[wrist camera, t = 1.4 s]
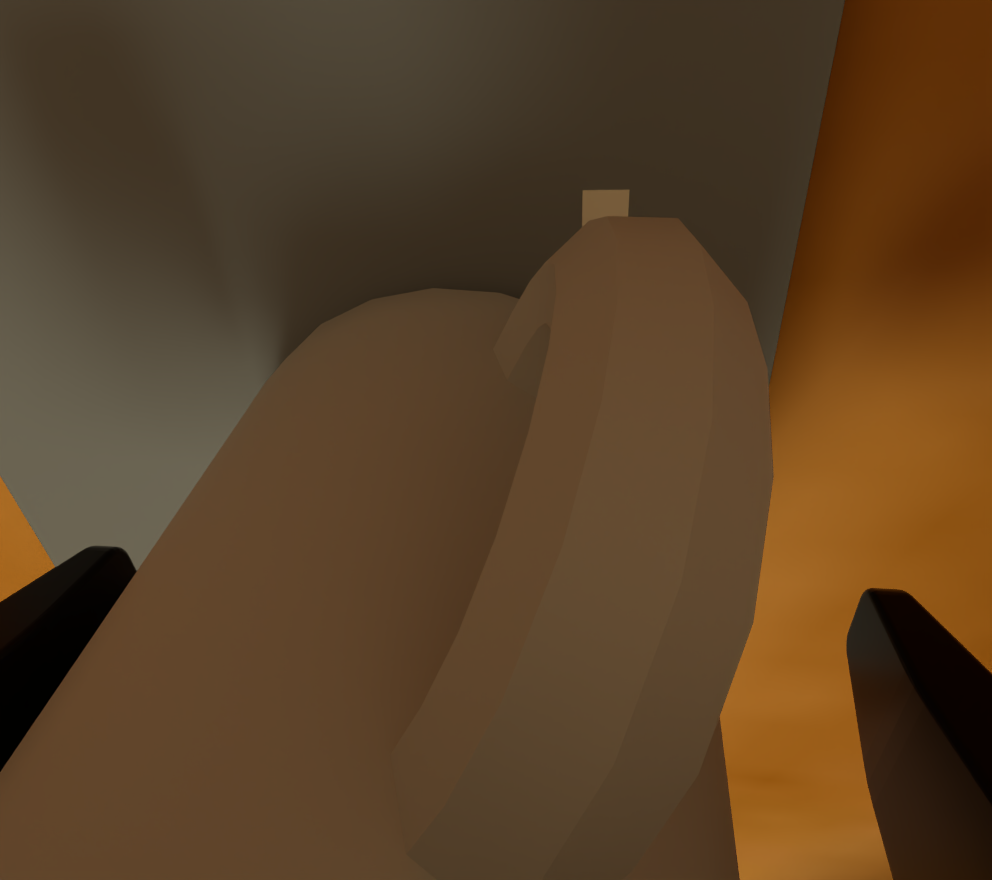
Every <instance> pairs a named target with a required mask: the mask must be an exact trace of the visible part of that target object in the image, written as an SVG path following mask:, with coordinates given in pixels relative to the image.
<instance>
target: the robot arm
mask: <svg viewBox="0 0 992 880" xmlns="http://www.w3.org/2000/svg"><path fill="white" fill-rule="evenodd" d="M136 572H137V570H136V568H135V566H134V564H133V562H132V560H131V558H130V556H129V555H128V553H127V552H126V551H125V550H124V549H122V548H120V547H114V546H90V547H87V548H85V549H83V550H82V551H80V552H79V553H77V554H75V555H74V556H72V557H71V558H69V559H68V560H66V561H64V562H63V563H61V564H60V565H58V566H57V567H55V568H53V569H52V570H50V571H49V572H47V573H45V574H44V575H42V576H41V577H39V578H38V579H36V580H34V581H33V582H31V583H30V584H28V585H27V586H25V587H23V588H22V589H20V590H19V591H17V592H16V593H14V594H12V595H11V596H9V597H8V598H6V599H4V600H3V601H1V602H0V772H1V770H2V769H3V767H4V766H5V765H6V763H7V762H8V760H9V759H10V757H11V756H12V754H13V753H14V751H15V750H16V748H17V747H18V745H19V744H20V742H21V741H22V740H23V738H24V737H25V735H26V734H27V732H28V731H29V729H30V728H31V726H32V725H33V723H34V722H35V720H36V719H37V717H38V716H39V715H40V713H41V712H42V710H43V709H44V707H45V706H46V704H47V703H48V701H49V700H50V698H51V697H52V695H53V694H54V692H55V691H56V690H57V688H58V687H59V685H60V684H61V682H62V681H63V679H64V678H65V676H66V675H67V673H68V672H69V670H70V669H71V667H72V666H73V665H74V663H75V662H76V660H77V659H78V657H79V656H80V654H81V653H82V651H83V650H84V648H85V647H86V645H87V644H88V642H89V641H90V640H91V638H92V637H93V635H94V634H95V632H96V631H97V629H98V628H99V626H100V625H101V623H102V622H103V620H104V619H105V618H106V616H107V615H108V613H109V612H110V610H111V609H112V607H113V606H114V604H115V603H116V601H117V600H118V598H119V597H120V595H121V594H122V593H123V591H124V590H125V588H126V587H127V585H128V584H129V582H130V581H131V579H132V578H133V576H134V575H135V573H136ZM846 646H847V658H848V664H849V671H850V677H851V684H852V690H853V697H854V703H855V709H856V716H857V722H858V729H859V735H860V742H861V748H862V755H863V761H864V767H865V772H866V778H867V784H868V788H869V792H870V796H871V800H872V804H873V808H874V811H875V815H876V819H877V822H878V826H879V829H880V833H881V837H882V840H883V844H884V848H885V851H886V855H887V858H888V862H889V866H890V869H891V873H892V877H893V880H992V673H991V672H990V671H988V670H987V669H986V668H985V667H984V666H983V665H982V664H981V663H980V662H979V661H978V660H977V659H976V658H975V657H974V656H973V655H972V654H971V653H970V652H969V651H968V650H967V649H966V648H965V647H964V646H963V645H962V644H961V643H960V642H959V641H958V640H957V639H956V638H955V637H954V636H953V635H952V634H951V633H950V632H948V631H947V630H946V629H945V628H944V627H943V626H942V625H941V624H940V623H939V622H938V621H937V620H936V619H935V618H934V617H933V616H932V615H931V614H930V613H929V612H928V611H927V610H926V609H925V608H924V607H923V606H922V605H921V604H920V603H919V602H918V601H917V600H916V599H915V598H914V597H913V596H911V595H910V594H909V593H907V592H905V591H903V590H897V589H879V588H870V589H867V590H866V591H865V592H864V593H863V594H862V596H861V598H860V601H859V604H858V607H857V609H856V612H855V615H854V618H853V620H852V623H851V626H850V629H849V632H848V635H847V645H846Z"/></svg>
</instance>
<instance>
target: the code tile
mask: <svg viewBox="0 0 992 880" xmlns="http://www.w3.org/2000/svg"><path fill="white" fill-rule="evenodd" d="M844 3H845V0H0V476H1V478H2V479H3V481H4V483H5V484H6V486H7V488H8V489H9V491H10V493H11V494H12V496H13V498H14V499H15V501H16V502H17V504H18V506H19V507H20V509H21V511H22V512H23V514H24V516H25V517H26V519H27V521H28V522H29V524H30V526H31V527H32V529H33V531H34V532H35V534H36V536H37V537H38V539H39V541H40V542H41V544H42V545H43V547H44V549H45V550H46V552H47V554H48V555H49V557H50V559H51V560H52V562H53V564H54V565H55V567H57V566H58V565H60V564H61V563H63V562H64V561H66V560H68V559H69V558H71V557H72V556H74V555H75V554H77V553H79V552H80V551H82V550H83V549H85V548H87V547H90V546H114V547H120V548H122V549H124V550H125V551H126V552H127V553H128V555H129V556H130V558H131V560H132V562H133V564H134V566H135V568H136V570H138V569H139V568H140V566H141V565H142V563H143V562H144V560H145V559H146V557H147V556H148V554H149V553H150V551H151V550H152V548H153V547H154V545H155V544H156V543H157V541H158V540H159V538H160V537H161V535H162V534H163V532H164V531H165V529H166V528H167V526H168V525H169V523H170V522H171V520H172V519H173V518H174V516H175V515H176V513H177V512H178V510H179V509H180V507H181V506H182V504H183V503H184V501H185V500H186V498H187V497H188V495H189V494H190V493H191V491H192V490H193V488H194V487H195V485H196V484H197V482H198V481H199V479H200V478H201V476H202V475H203V473H204V472H205V470H206V469H207V468H208V466H209V465H210V463H211V462H212V460H213V459H214V457H215V456H216V454H217V453H218V451H219V450H220V448H221V447H222V445H223V444H224V443H225V441H226V440H227V438H228V437H229V435H230V434H231V432H232V431H233V429H234V428H235V426H236V425H237V423H238V422H239V420H240V419H241V418H242V416H243V415H244V413H245V412H246V410H247V409H248V407H249V406H250V404H251V403H252V401H253V400H254V398H255V397H256V395H257V394H258V393H259V391H260V390H261V388H262V387H263V385H264V384H265V382H266V381H267V380H268V379H269V378H270V377H271V375H272V374H273V373H274V372H275V371H276V369H277V368H278V367H279V366H280V365H281V364H282V362H283V361H284V360H285V359H286V358H287V357H288V356H289V355H290V354H291V353H292V352H293V351H294V350H295V349H296V348H297V347H298V346H299V345H300V344H301V343H302V342H303V341H304V340H305V339H306V338H307V337H308V336H309V335H310V334H311V333H312V332H313V331H314V330H315V329H317V328H318V327H319V326H320V325H321V324H322V323H324V322H326V321H329V320H331V319H333V318H335V317H337V316H339V315H341V314H343V313H345V312H347V311H349V310H351V309H353V308H355V307H357V306H359V305H361V304H363V303H365V302H367V301H369V300H371V299H377V298H382V297H387V296H393V295H398V294H404V293H409V292H414V291H420V290H425V289H430V288H439V289H453V290H468V291H482V292H496V293H502V294H505V295H508V296H511V297H514V298H518V299H520V297H521V296H522V294H523V292H524V291H525V289H526V287H527V285H528V284H529V282H530V280H531V279H532V278H533V277H534V275H535V274H536V273H537V272H538V271H539V269H540V268H541V267H542V266H543V264H544V263H545V262H546V261H547V260H548V259H549V258H550V257H551V256H552V255H554V254H555V253H556V252H557V251H558V250H559V249H560V248H561V247H562V246H563V245H564V244H565V243H566V242H567V241H568V240H569V239H570V238H571V237H572V236H573V235H574V234H575V233H577V232H578V231H579V230H580V229H581V228H582V227H583V226H584V225H585V224H586V223H587V222H588V221H590V220H594V219H598V218H601V217H605V216H623V217H659V218H678V219H679V220H680V221H681V222H682V223H683V224H684V225H685V227H686V228H687V229H688V230H689V231H690V232H691V234H692V235H693V236H694V237H695V238H696V239H697V240H698V242H699V243H700V244H701V245H702V246H703V248H704V249H705V250H706V251H707V253H708V254H709V255H710V256H711V258H712V259H713V260H714V261H715V263H716V264H717V265H718V266H719V267H720V269H721V270H722V271H723V272H724V274H725V275H726V276H727V277H728V279H729V280H730V281H731V282H732V284H733V285H734V286H735V287H736V288H737V290H738V291H739V292H740V293H741V295H742V296H743V297H744V298H745V300H746V301H747V302H748V306H749V309H750V312H751V315H752V319H753V322H754V325H755V329H756V332H757V335H758V339H759V342H760V345H761V349H762V352H763V355H764V359H765V362H766V365H767V369H768V387H769V383H770V378H771V373H772V368H773V363H774V358H775V353H776V347H777V342H778V337H779V332H780V327H781V322H782V317H783V312H784V307H785V302H786V297H787V292H788V287H789V282H790V277H791V271H792V266H793V261H794V256H795V251H796V246H797V241H798V236H799V231H800V226H801V221H802V216H803V211H804V206H805V201H806V195H807V190H808V185H809V180H810V175H811V170H812V165H813V160H814V155H815V150H816V145H817V140H818V135H819V130H820V125H821V119H822V114H823V109H824V104H825V99H826V94H827V89H828V84H829V79H830V74H831V69H832V64H833V59H834V54H835V49H836V43H837V38H838V33H839V28H840V23H841V18H842V13H843V8H844Z"/></svg>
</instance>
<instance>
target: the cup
mask: <svg viewBox="0 0 992 880" xmlns="http://www.w3.org/2000/svg"><path fill="white" fill-rule="evenodd" d="M772 483H773V459H772V441H771V423H770V405H769V387H768V369H767V365H766V362H765V359H764V355H763V352H762V349H761V345H760V342H759V339H758V335H757V332H756V329H755V325H754V322H753V319H752V315H751V312H750V309H749V306H748V302H747V301H746V300H745V298H744V297H743V296H742V295H741V293H740V292H739V291H738V290H737V288H736V287H735V286H734V285H733V284H732V282H731V281H730V280H729V279H728V277H727V276H726V275H725V274H724V272H723V271H722V270H721V269H720V267H719V266H718V265H717V264H716V263H715V261H714V260H713V259H712V258H711V256H710V255H709V254H708V253H707V251H706V250H705V249H704V248H703V246H702V245H701V244H700V243H699V242H698V240H697V239H696V238H695V237H694V236H693V235H692V234H691V232H690V231H689V230H688V229H687V228H686V227H685V225H684V224H683V223H682V222H681V221H680V220H679V219H678V218H659V217H623V216H605V217H601V218H598V219H594V220H590V221H588V222H587V223H586V224H585V225H584V226H583V227H582V228H581V229H580V230H579V231H578V232H577V233H575V234H574V235H573V236H572V237H571V238H570V239H569V240H568V241H567V242H566V243H565V244H564V245H563V246H562V247H561V248H560V249H559V250H558V251H557V252H556V253H555V254H554V255H552V256H551V257H550V258H549V259H548V260H547V261H546V262H545V263H544V264H543V266H542V267H541V268H540V269H539V271H538V272H537V273H536V274H535V275H534V277H533V278H532V279H531V280H530V282H529V284H528V285H527V287H526V289H525V291H524V292H523V294H522V296H521V297H520V299H518V298H514V297H511V296H508V295H505V294H502V293H496V292H482V291H468V290H453V289H439V288H430V289H425V290H420V291H414V292H409V293H404V294H398V295H393V296H387V297H382V298H377V299H371V300H369V301H367V302H365V303H363V304H361V305H359V306H357V307H355V308H353V309H351V310H349V311H347V312H345V313H343V314H341V315H339V316H337V317H335V318H333V319H331V320H329V321H326V322H324V323H322V324H321V325H320V326H319V327H318V328H317V329H315V330H314V331H313V332H312V333H311V334H310V335H309V336H308V337H307V338H306V339H305V340H304V341H303V342H302V343H301V344H300V345H299V346H298V347H297V348H296V349H295V350H294V351H293V352H292V353H291V354H290V355H289V356H288V357H287V358H286V359H285V360H284V361H283V362H282V364H281V365H280V366H279V367H278V368H277V369H276V371H275V372H274V373H273V374H272V375H271V377H270V378H269V379H268V380H267V381H266V382H265V384H264V385H263V387H262V388H261V390H260V391H259V393H258V394H257V395H256V397H255V398H254V400H253V401H252V403H251V404H250V406H249V407H248V409H247V410H246V412H245V413H244V415H243V416H242V418H241V419H240V420H239V422H238V423H237V425H236V426H235V428H234V429H233V431H232V432H231V434H230V435H229V437H228V438H227V440H226V441H225V443H224V444H223V445H222V447H221V448H220V450H219V451H218V453H217V454H216V456H215V457H214V459H213V460H212V462H211V463H210V465H209V466H208V468H207V469H206V470H205V472H204V473H203V475H202V476H201V478H200V479H199V481H198V482H197V484H196V485H195V487H194V488H193V490H192V491H191V493H190V494H189V495H188V497H187V498H186V500H185V501H184V503H183V504H182V506H181V507H180V509H179V510H178V512H177V513H176V515H175V516H174V518H173V519H172V520H171V522H170V523H169V525H168V526H167V528H166V529H165V531H164V532H163V534H162V535H161V537H160V538H159V540H158V541H157V543H156V544H155V545H154V547H153V548H152V550H151V551H150V553H149V554H148V556H147V557H146V559H145V560H144V562H143V563H142V565H141V566H140V568H139V569H138V570H137V572H136V573H135V575H134V576H133V578H132V579H131V581H130V582H129V584H128V585H127V587H126V588H125V590H124V591H123V593H122V594H121V595H120V597H119V598H118V600H117V601H116V603H115V604H114V606H113V607H112V609H111V610H110V612H109V613H108V615H107V616H106V618H105V619H104V620H103V622H102V623H101V625H100V626H99V628H98V629H97V631H96V632H95V634H94V635H93V637H92V638H91V640H90V641H89V642H88V644H87V645H86V647H85V648H84V650H83V651H82V653H81V654H80V656H79V657H78V659H77V660H76V662H75V663H74V665H73V666H72V667H71V669H70V670H69V672H68V673H67V675H66V676H65V678H64V679H63V681H62V682H61V684H60V685H59V687H58V688H57V690H56V691H55V692H54V694H53V695H52V697H51V698H50V700H49V701H48V703H47V704H46V706H45V707H44V709H43V710H42V712H41V713H40V715H39V716H38V717H37V719H36V720H35V722H34V723H33V725H32V726H31V728H30V729H29V731H28V732H27V734H26V735H25V737H24V738H23V740H22V741H21V742H20V744H19V745H18V747H17V748H16V750H15V751H14V753H13V754H12V756H11V757H10V759H9V760H8V762H7V763H6V765H5V766H4V767H3V769H2V770H1V772H0V880H740V879H739V871H738V863H737V855H736V846H735V838H734V830H733V822H732V814H731V806H730V798H729V789H728V781H727V773H726V765H725V757H724V749H723V740H722V732H721V724H720V713H721V711H722V708H723V705H724V702H725V699H726V697H727V694H728V691H729V688H730V686H731V683H732V680H733V677H734V674H735V672H736V669H737V666H738V663H739V661H740V658H741V655H742V652H743V650H744V647H745V644H746V641H747V638H748V636H749V633H750V630H751V627H752V625H753V620H754V613H755V605H756V598H757V591H758V584H759V577H760V570H761V562H762V555H763V548H764V541H765V534H766V526H767V519H768V512H769V505H770V498H771V490H772Z"/></svg>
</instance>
